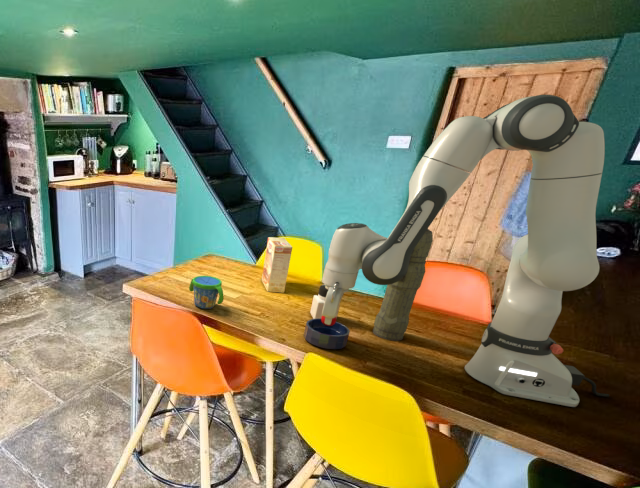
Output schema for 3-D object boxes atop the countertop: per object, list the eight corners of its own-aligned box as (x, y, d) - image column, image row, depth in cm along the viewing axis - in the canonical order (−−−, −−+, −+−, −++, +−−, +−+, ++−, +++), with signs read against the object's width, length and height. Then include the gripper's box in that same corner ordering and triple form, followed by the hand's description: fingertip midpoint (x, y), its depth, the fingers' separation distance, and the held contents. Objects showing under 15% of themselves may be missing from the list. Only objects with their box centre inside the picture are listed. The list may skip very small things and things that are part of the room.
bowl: (347, 338, 128) (351, 324, 126) (343, 354, 119) (347, 340, 117) (307, 329, 134) (310, 315, 132) (300, 343, 125) (303, 329, 123)
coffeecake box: (260, 279, 179) (267, 236, 172) (277, 280, 178) (284, 237, 171) (266, 291, 166) (274, 245, 158) (284, 293, 165) (293, 246, 157)
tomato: (335, 324, 125) (338, 312, 123) (333, 329, 122) (337, 316, 120) (320, 321, 127) (323, 308, 125) (318, 326, 124) (321, 313, 122)
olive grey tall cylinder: (366, 335, 131) (397, 229, 117) (377, 324, 139) (408, 223, 125) (397, 345, 125) (434, 234, 111) (407, 333, 133) (442, 228, 119)
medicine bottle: (335, 323, 139) (343, 290, 134) (314, 320, 140) (321, 289, 136) (330, 314, 146) (338, 283, 141) (309, 312, 147) (316, 281, 142)
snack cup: (229, 310, 147) (232, 284, 143) (206, 316, 142) (209, 289, 138) (202, 296, 159) (205, 272, 155) (180, 300, 155) (182, 275, 151)
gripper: (347, 291, 109) (335, 336, 114) (353, 271, 125) (343, 311, 130) (322, 286, 112) (312, 330, 117) (331, 267, 128) (322, 307, 133)
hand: (328, 320), depth 124 cm, fingers closed on tomato, 4 cm apart
